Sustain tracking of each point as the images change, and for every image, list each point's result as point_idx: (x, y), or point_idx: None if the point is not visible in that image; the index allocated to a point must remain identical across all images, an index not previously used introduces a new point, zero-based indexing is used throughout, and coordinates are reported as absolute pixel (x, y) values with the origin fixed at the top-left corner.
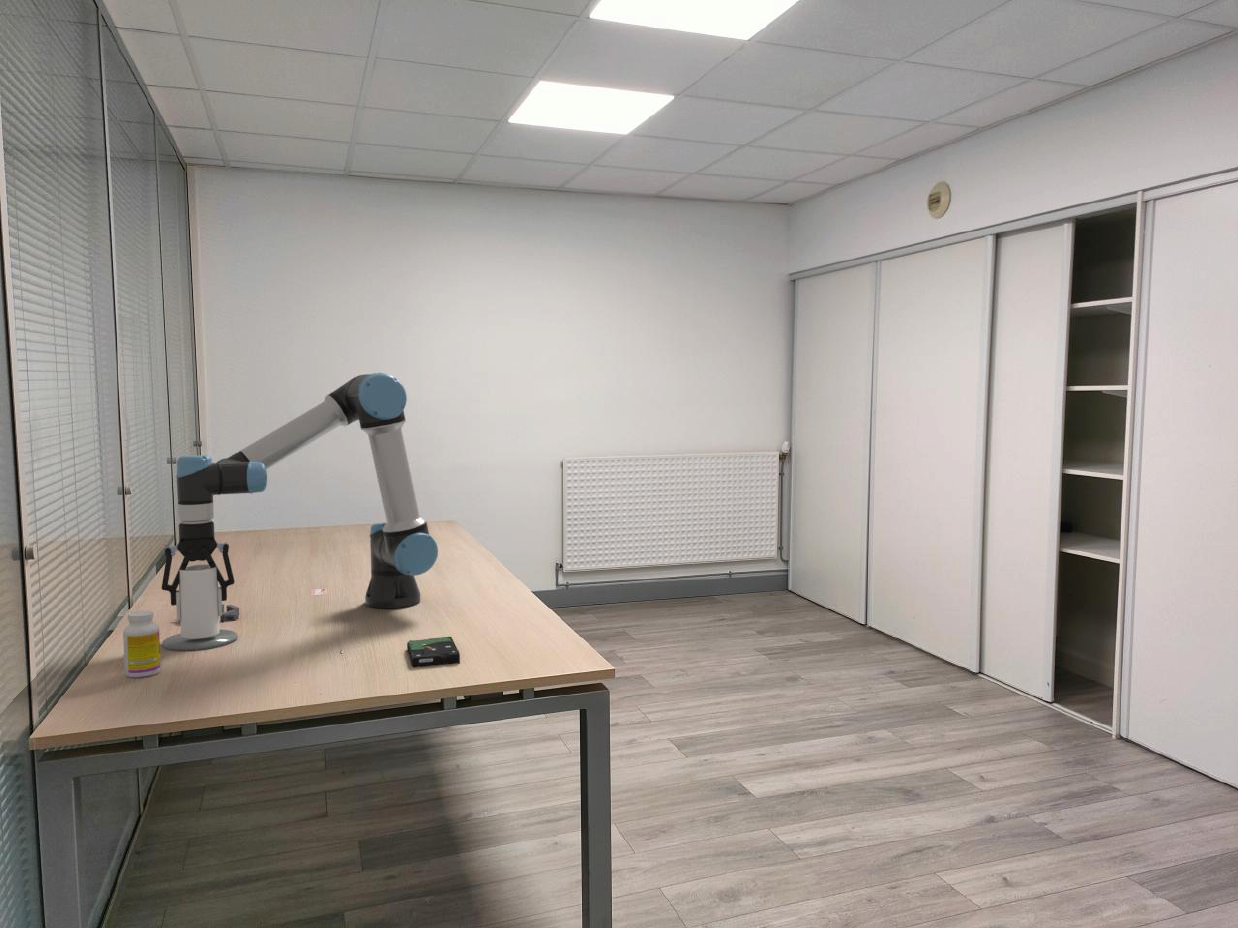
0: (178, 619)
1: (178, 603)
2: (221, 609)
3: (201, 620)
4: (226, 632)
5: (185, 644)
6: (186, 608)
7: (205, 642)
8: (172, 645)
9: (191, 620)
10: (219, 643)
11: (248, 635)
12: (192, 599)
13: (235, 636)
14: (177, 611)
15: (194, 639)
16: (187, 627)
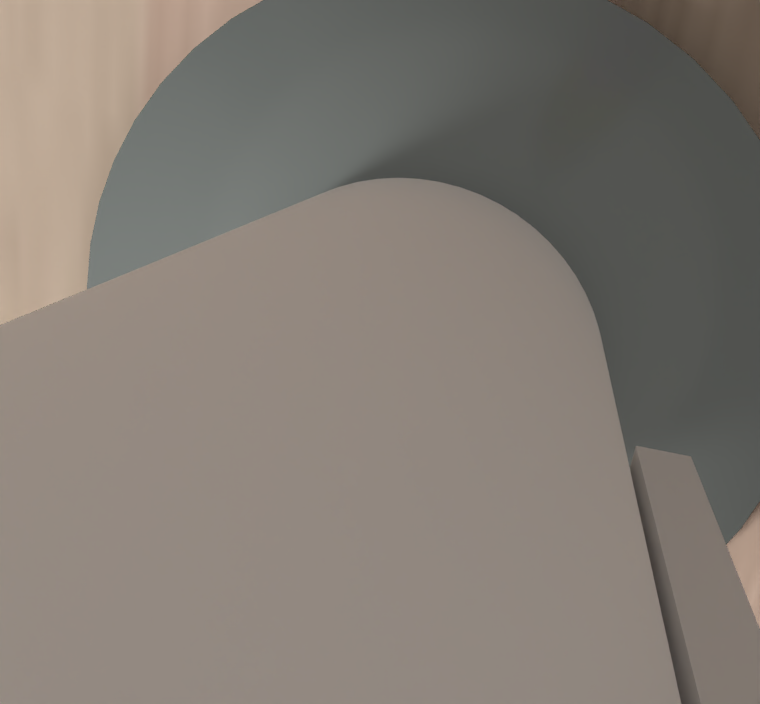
0: (668, 454)
1: (716, 636)
2: None
3: (357, 204)
4: None
5: (599, 169)
6: (570, 389)
7: (390, 136)
8: (738, 210)
9: (501, 262)
10: (261, 4)
11: (18, 312)
12: (414, 363)
13: (102, 223)
14: (707, 531)
15: None
16: (559, 281)
